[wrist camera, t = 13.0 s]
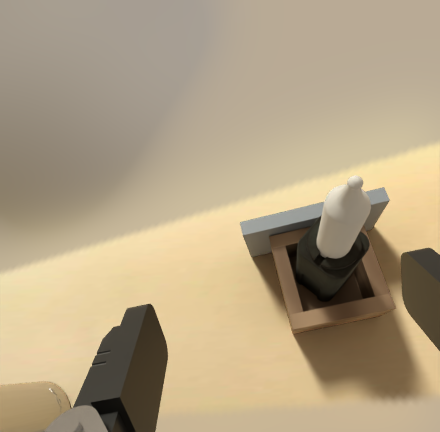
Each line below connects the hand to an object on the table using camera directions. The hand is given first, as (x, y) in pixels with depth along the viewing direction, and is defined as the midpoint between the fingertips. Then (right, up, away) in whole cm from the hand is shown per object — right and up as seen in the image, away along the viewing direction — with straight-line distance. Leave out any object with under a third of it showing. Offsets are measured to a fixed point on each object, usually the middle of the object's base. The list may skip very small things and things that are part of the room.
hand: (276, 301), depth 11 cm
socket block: (+11, -6, +32) cm, 35 cm away
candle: (+11, -5, +31) cm, 33 cm away
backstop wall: (+10, 0, +35) cm, 36 cm away
